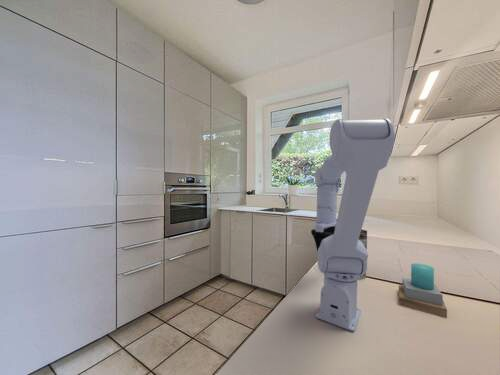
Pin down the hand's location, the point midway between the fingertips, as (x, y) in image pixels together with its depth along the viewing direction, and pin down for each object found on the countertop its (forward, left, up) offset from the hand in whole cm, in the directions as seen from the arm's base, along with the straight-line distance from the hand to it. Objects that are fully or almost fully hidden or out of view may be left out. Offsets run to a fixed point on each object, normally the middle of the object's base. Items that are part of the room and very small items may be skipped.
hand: (325, 251), depth 64 cm
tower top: (+5, -23, -8) cm, 25 cm away
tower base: (+5, -23, -11) cm, 26 cm away
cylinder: (+5, -23, -6) cm, 25 cm away
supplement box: (+13, -5, -10) cm, 17 cm away
